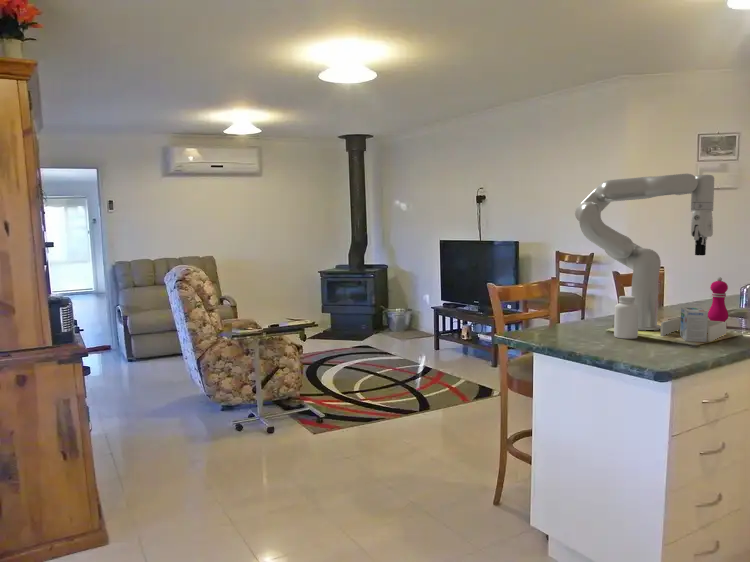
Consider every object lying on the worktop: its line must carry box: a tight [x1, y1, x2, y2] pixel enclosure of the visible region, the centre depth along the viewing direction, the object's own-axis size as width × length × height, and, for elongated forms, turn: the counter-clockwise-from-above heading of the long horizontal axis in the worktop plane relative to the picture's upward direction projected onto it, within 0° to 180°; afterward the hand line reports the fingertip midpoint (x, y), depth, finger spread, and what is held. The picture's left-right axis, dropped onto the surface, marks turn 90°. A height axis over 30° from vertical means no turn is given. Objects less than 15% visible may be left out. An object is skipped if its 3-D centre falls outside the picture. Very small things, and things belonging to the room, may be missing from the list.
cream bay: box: [660, 317, 727, 343], centre depth 213 cm, size 17×17×5 cm
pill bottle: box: [613, 295, 639, 340], centre depth 210 cm, size 8×8×15 cm
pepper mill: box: [708, 276, 729, 328], centre depth 231 cm, size 7×7×20 cm
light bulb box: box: [679, 307, 709, 343], centre depth 206 cm, size 11×7×11 cm, turn 163°
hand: (700, 255), depth 223 cm, fingers closed
